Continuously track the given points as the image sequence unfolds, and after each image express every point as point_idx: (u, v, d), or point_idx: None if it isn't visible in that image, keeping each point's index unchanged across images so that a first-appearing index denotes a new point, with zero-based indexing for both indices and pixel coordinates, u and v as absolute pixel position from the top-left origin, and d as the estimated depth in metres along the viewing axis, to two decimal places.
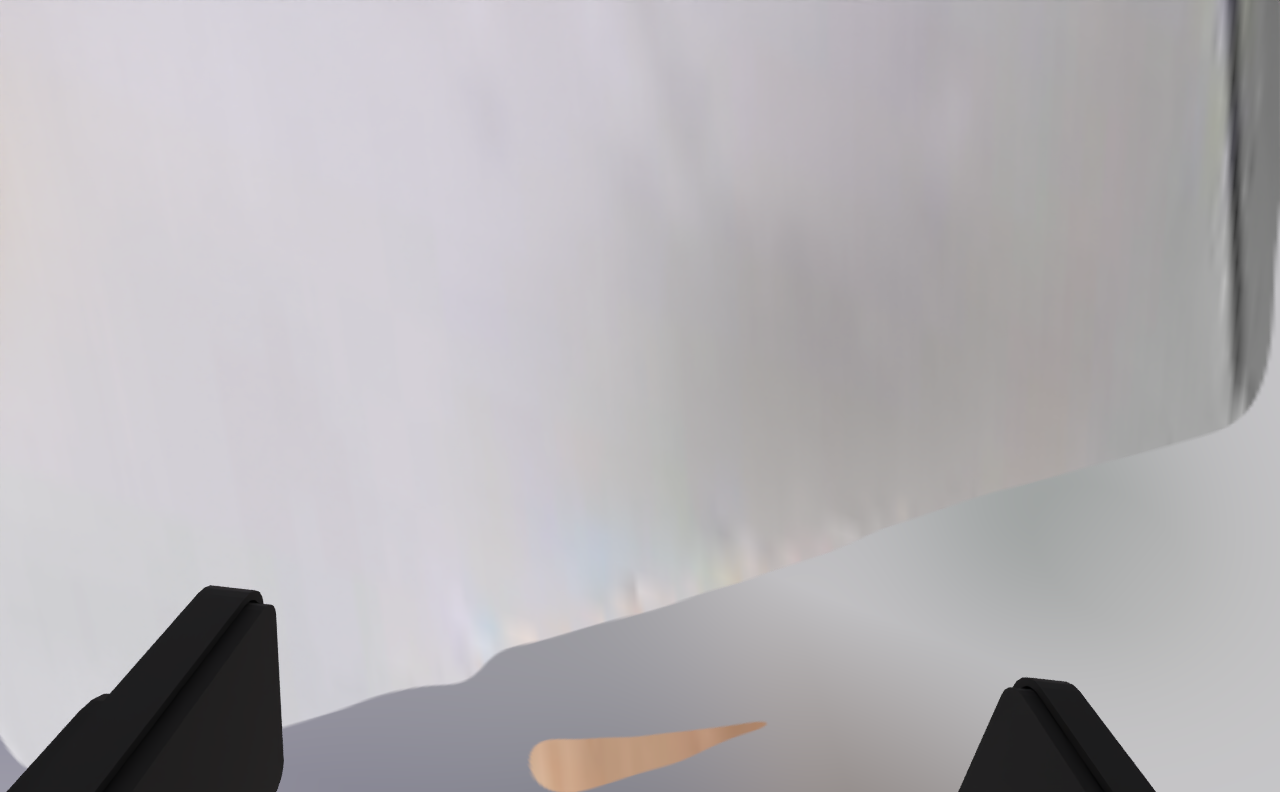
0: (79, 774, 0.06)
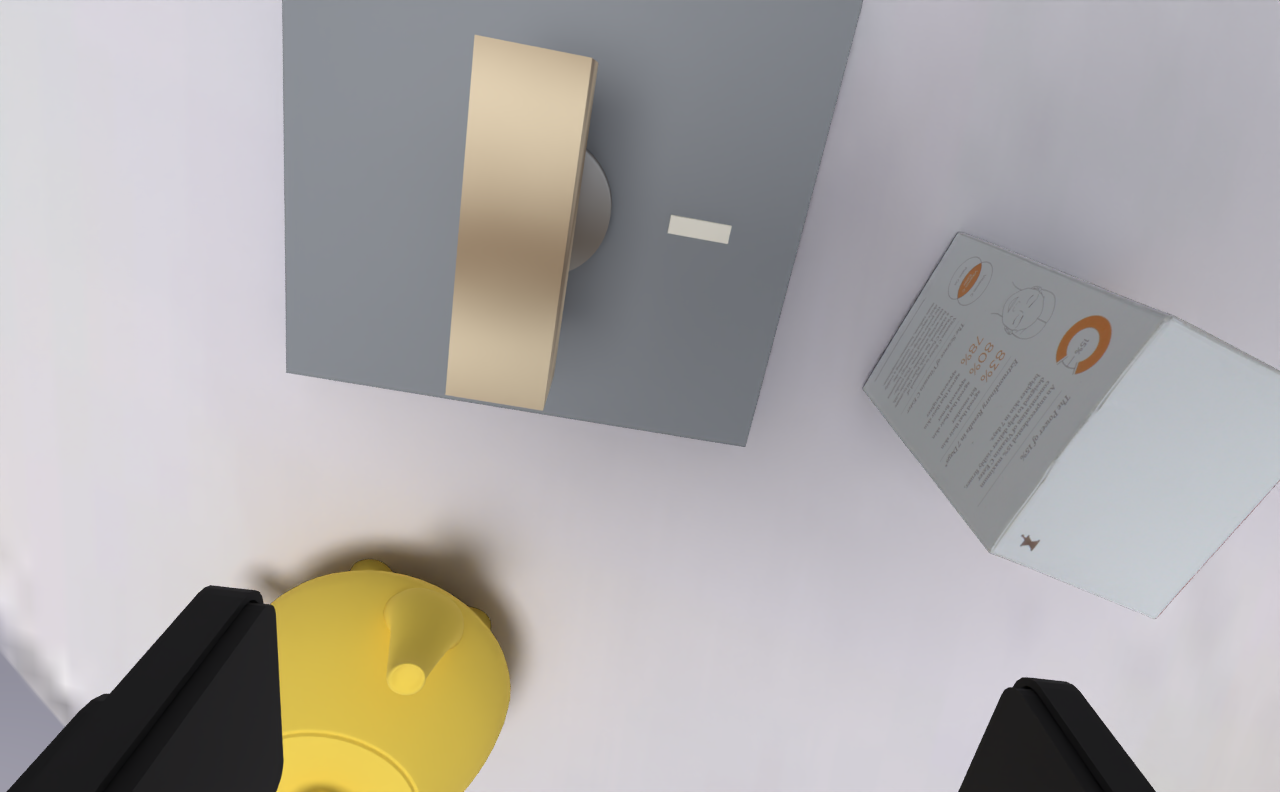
0: (78, 774, 0.06)
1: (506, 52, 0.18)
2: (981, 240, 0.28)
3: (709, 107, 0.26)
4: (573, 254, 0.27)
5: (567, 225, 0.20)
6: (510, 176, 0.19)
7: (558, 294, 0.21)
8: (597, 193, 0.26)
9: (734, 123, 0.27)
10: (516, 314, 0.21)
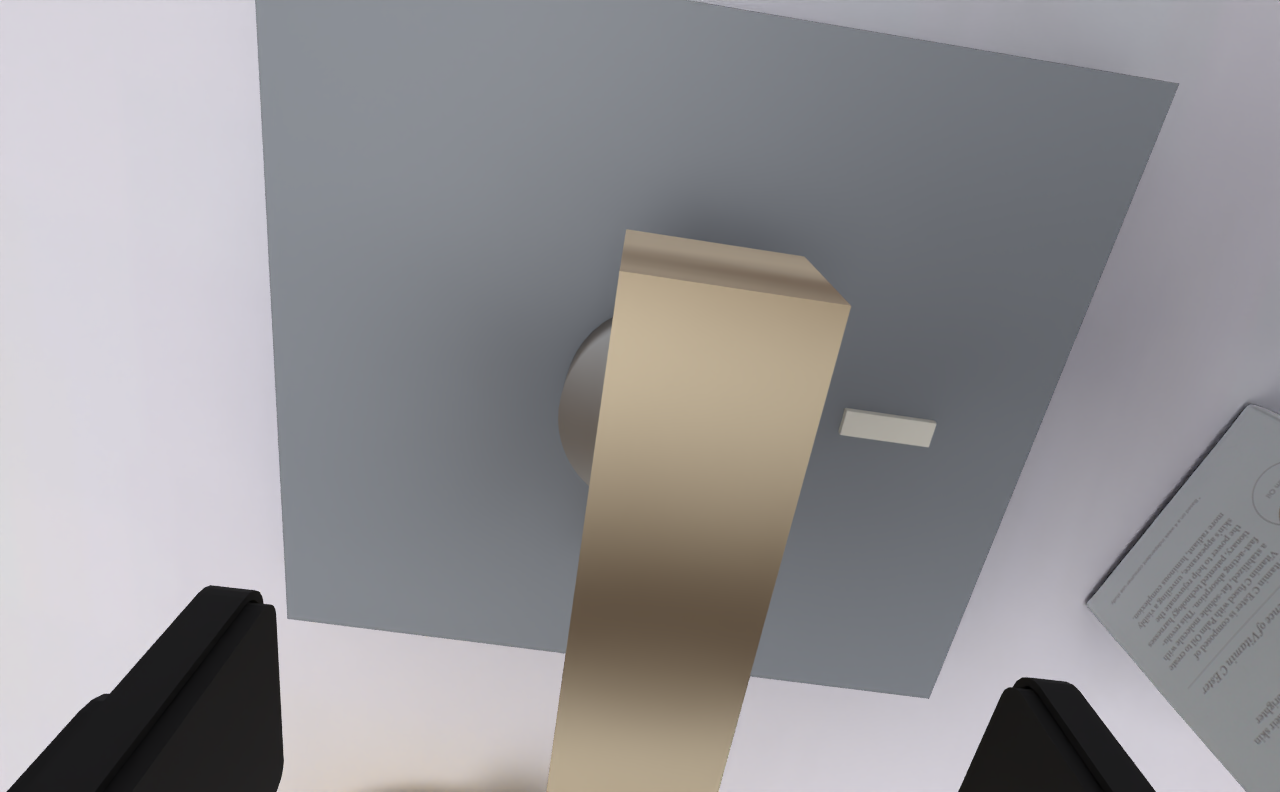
0: (79, 774, 0.06)
1: (680, 300, 0.09)
2: None
3: (914, 260, 0.17)
4: None
5: (774, 577, 0.11)
6: (674, 504, 0.10)
7: (747, 676, 0.12)
8: None
9: (951, 281, 0.17)
10: (670, 706, 0.12)
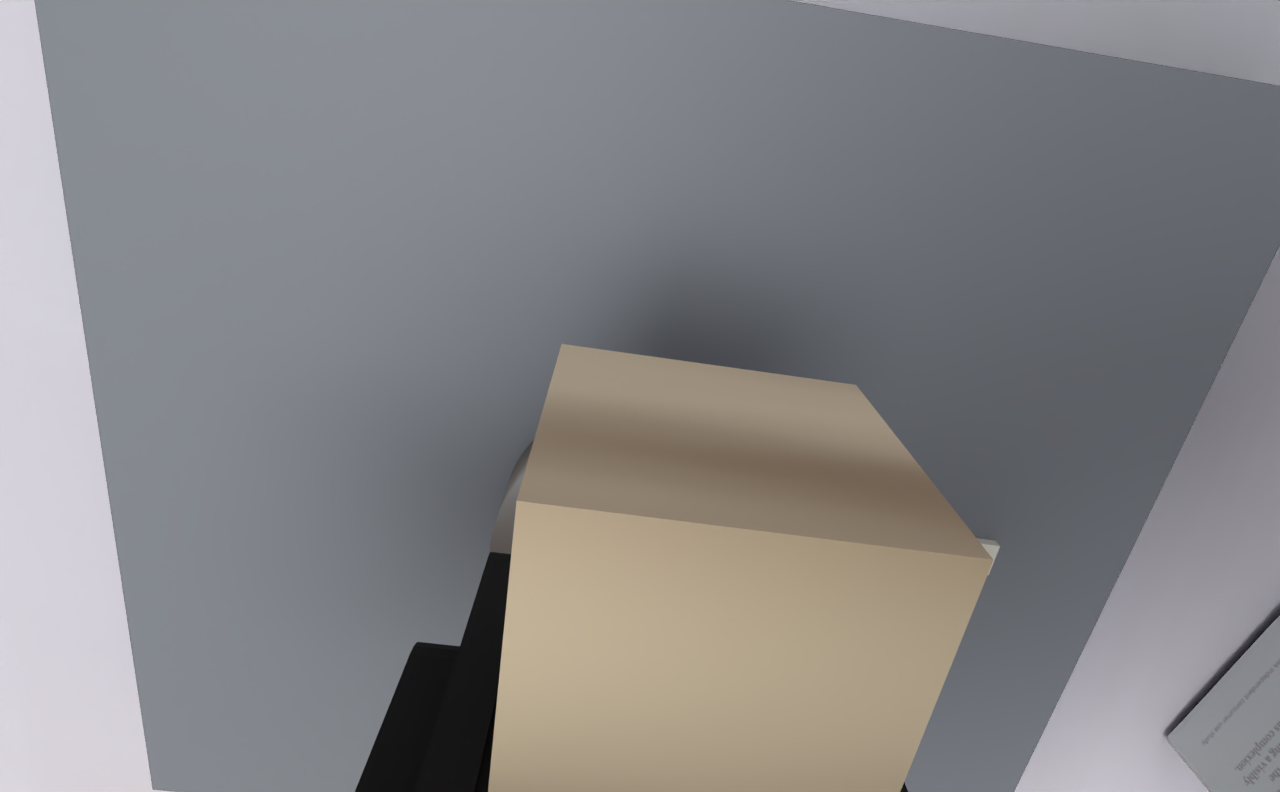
0: (474, 694, 0.07)
1: (644, 553, 0.04)
2: None
3: (976, 336, 0.13)
4: None
5: None
6: None
7: None
8: None
9: (1025, 364, 0.13)
10: None
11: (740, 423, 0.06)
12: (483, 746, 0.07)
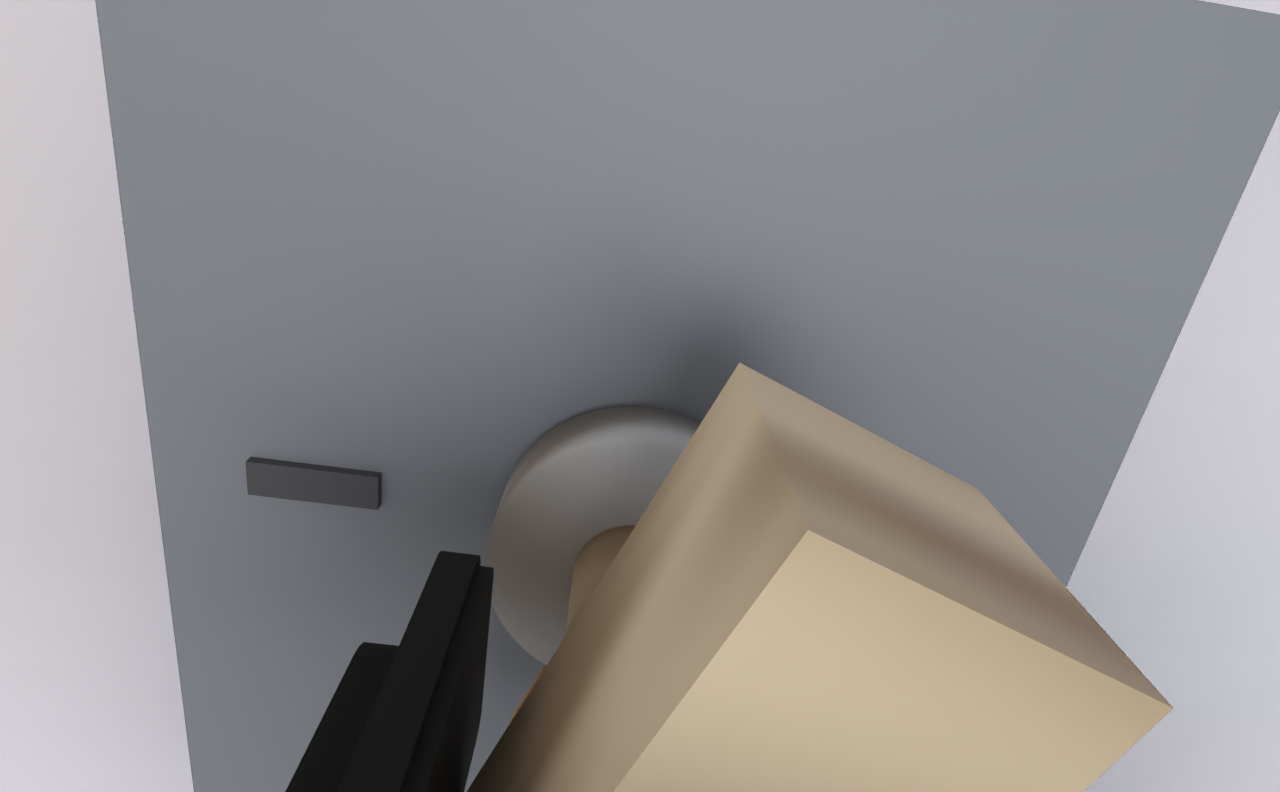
0: (408, 695, 0.07)
1: (893, 613, 0.05)
2: None
3: None
4: None
5: None
6: None
7: None
8: None
9: None
10: None
11: (921, 501, 0.06)
12: (412, 748, 0.07)
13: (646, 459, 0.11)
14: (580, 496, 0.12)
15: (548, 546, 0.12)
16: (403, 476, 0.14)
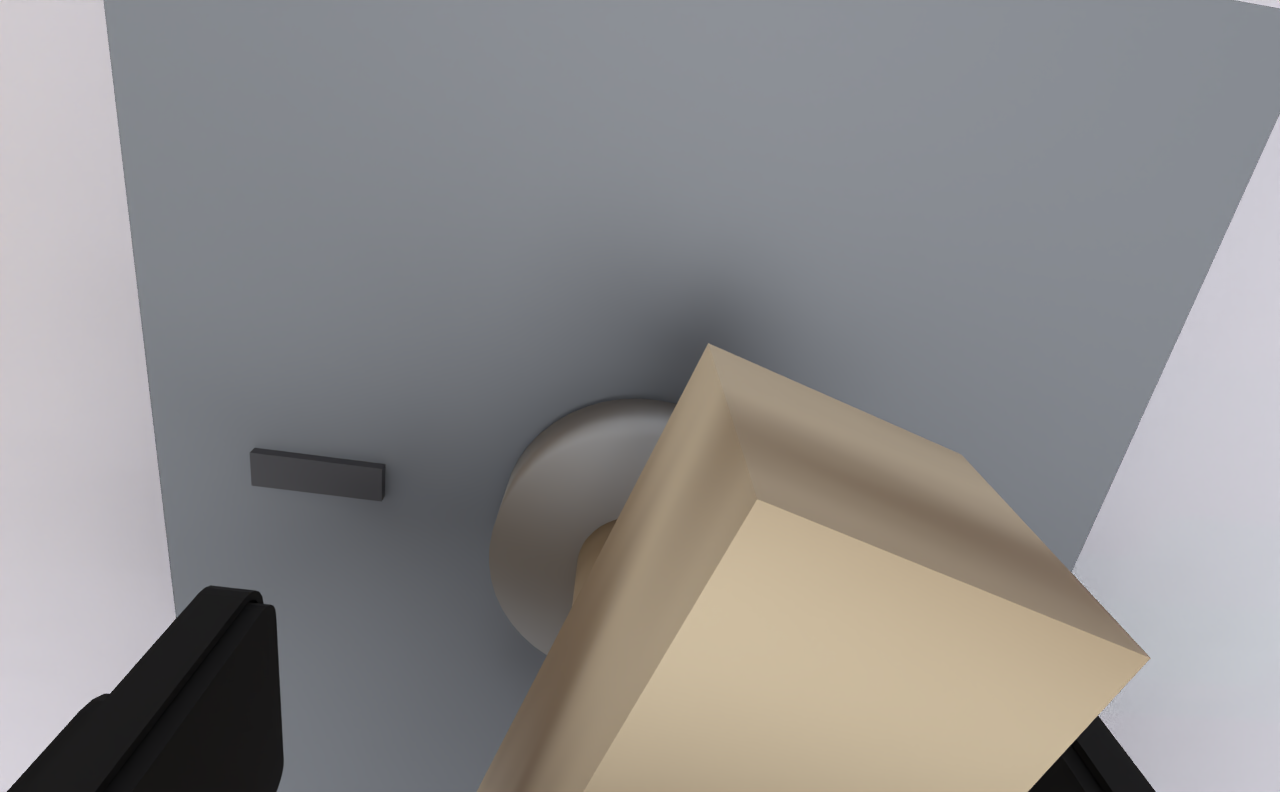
0: (79, 774, 0.06)
1: (852, 578, 0.05)
2: None
3: None
4: None
5: None
6: None
7: None
8: None
9: None
10: None
11: (893, 468, 0.06)
12: None
13: (640, 449, 0.11)
14: (577, 491, 0.12)
15: (550, 543, 0.12)
16: (407, 468, 0.14)
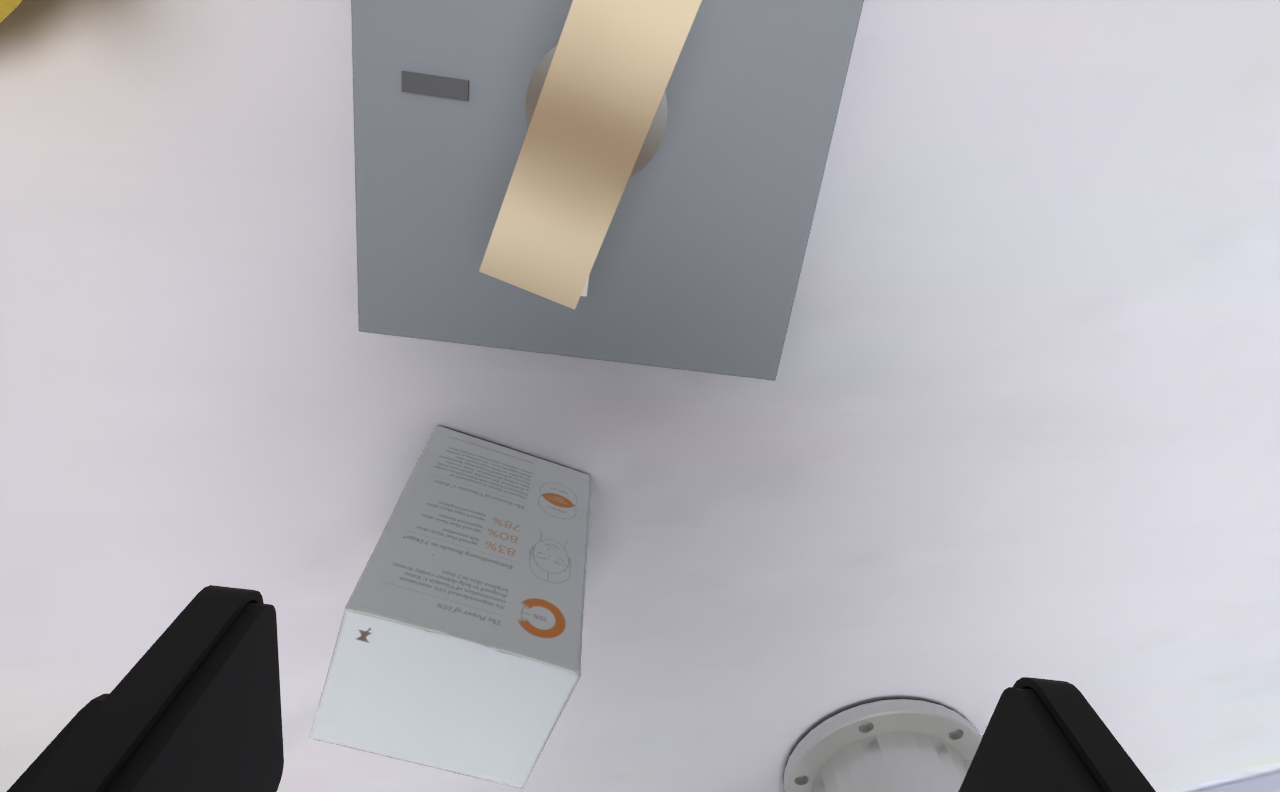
0: (79, 774, 0.06)
1: None
2: (589, 498, 0.34)
3: (689, 266, 0.30)
4: None
5: (650, 122, 0.19)
6: (606, 56, 0.19)
7: (622, 192, 0.20)
8: (656, 112, 0.25)
9: (676, 289, 0.30)
10: (574, 203, 0.20)
11: None
12: None
13: None
14: None
15: None
16: (480, 83, 0.26)
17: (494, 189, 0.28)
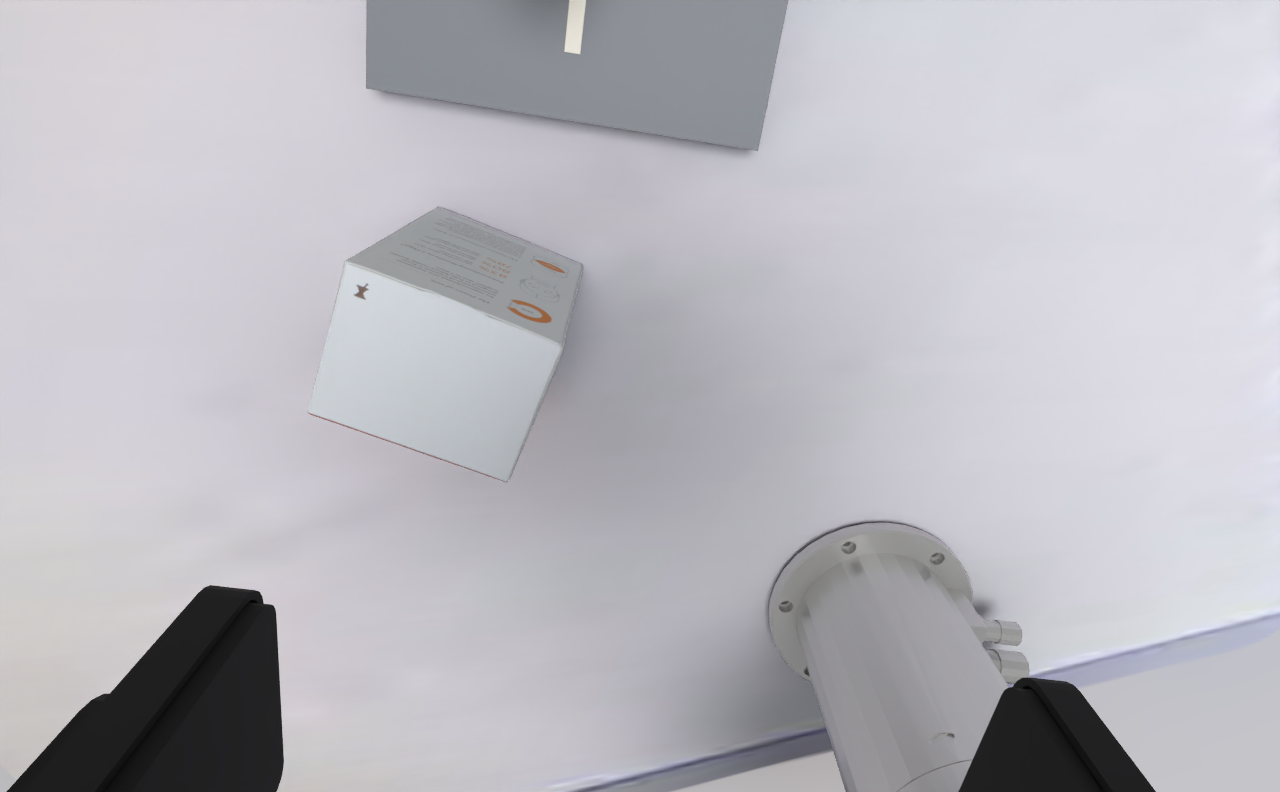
0: (79, 774, 0.06)
1: None
2: (580, 275, 0.36)
3: (676, 25, 0.31)
4: None
5: None
6: None
7: None
8: None
9: (664, 50, 0.32)
10: None
11: None
12: None
13: None
14: None
15: None
16: None
17: None
